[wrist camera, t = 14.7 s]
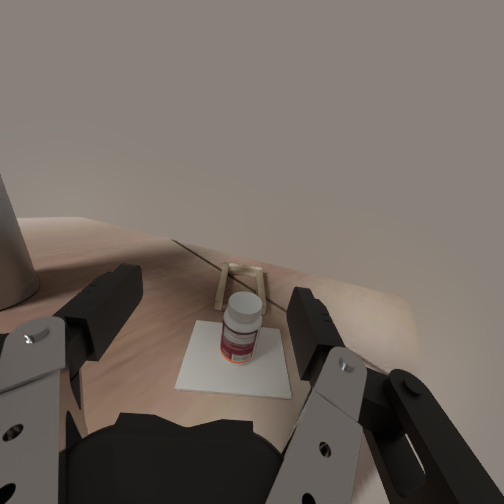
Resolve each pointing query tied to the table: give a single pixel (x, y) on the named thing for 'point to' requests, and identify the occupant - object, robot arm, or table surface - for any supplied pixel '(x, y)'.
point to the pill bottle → (241, 328)
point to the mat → (230, 376)
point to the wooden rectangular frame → (245, 271)
